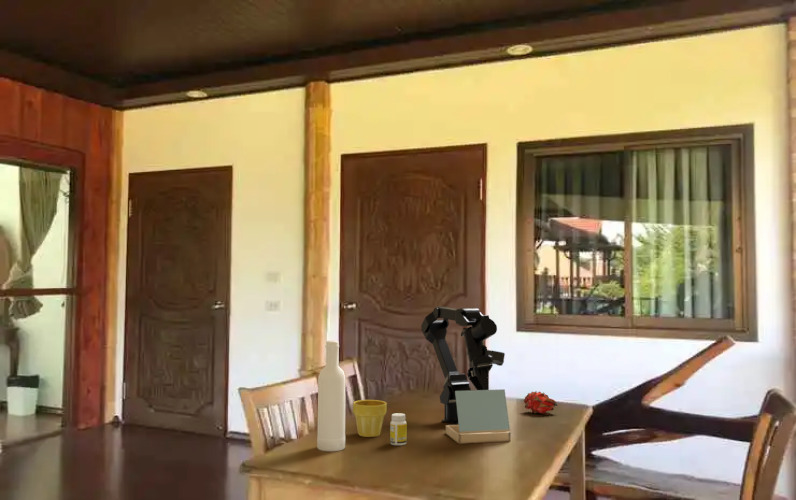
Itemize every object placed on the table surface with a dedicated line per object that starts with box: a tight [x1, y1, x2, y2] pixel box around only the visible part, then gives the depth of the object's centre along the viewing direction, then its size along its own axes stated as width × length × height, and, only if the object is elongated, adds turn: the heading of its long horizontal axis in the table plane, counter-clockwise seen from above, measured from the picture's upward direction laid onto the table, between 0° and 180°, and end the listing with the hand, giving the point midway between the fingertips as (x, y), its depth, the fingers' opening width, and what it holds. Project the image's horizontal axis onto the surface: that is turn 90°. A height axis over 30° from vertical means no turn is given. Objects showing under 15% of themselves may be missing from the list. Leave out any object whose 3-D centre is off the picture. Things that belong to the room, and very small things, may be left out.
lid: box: [455, 388, 511, 434], centre depth 195 cm, size 12×16×1 cm
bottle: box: [316, 340, 347, 452], centre depth 185 cm, size 8×8×30 cm
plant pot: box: [352, 399, 388, 438], centre depth 202 cm, size 10×10×10 cm
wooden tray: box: [445, 424, 511, 445], centre depth 199 cm, size 13×16×2 cm
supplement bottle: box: [389, 412, 408, 446], centre depth 190 cm, size 5×5×8 cm
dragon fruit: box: [522, 390, 558, 416], centre depth 236 cm, size 8×8×12 cm
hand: (485, 393), depth 204 cm, fingers open, 9 cm apart
